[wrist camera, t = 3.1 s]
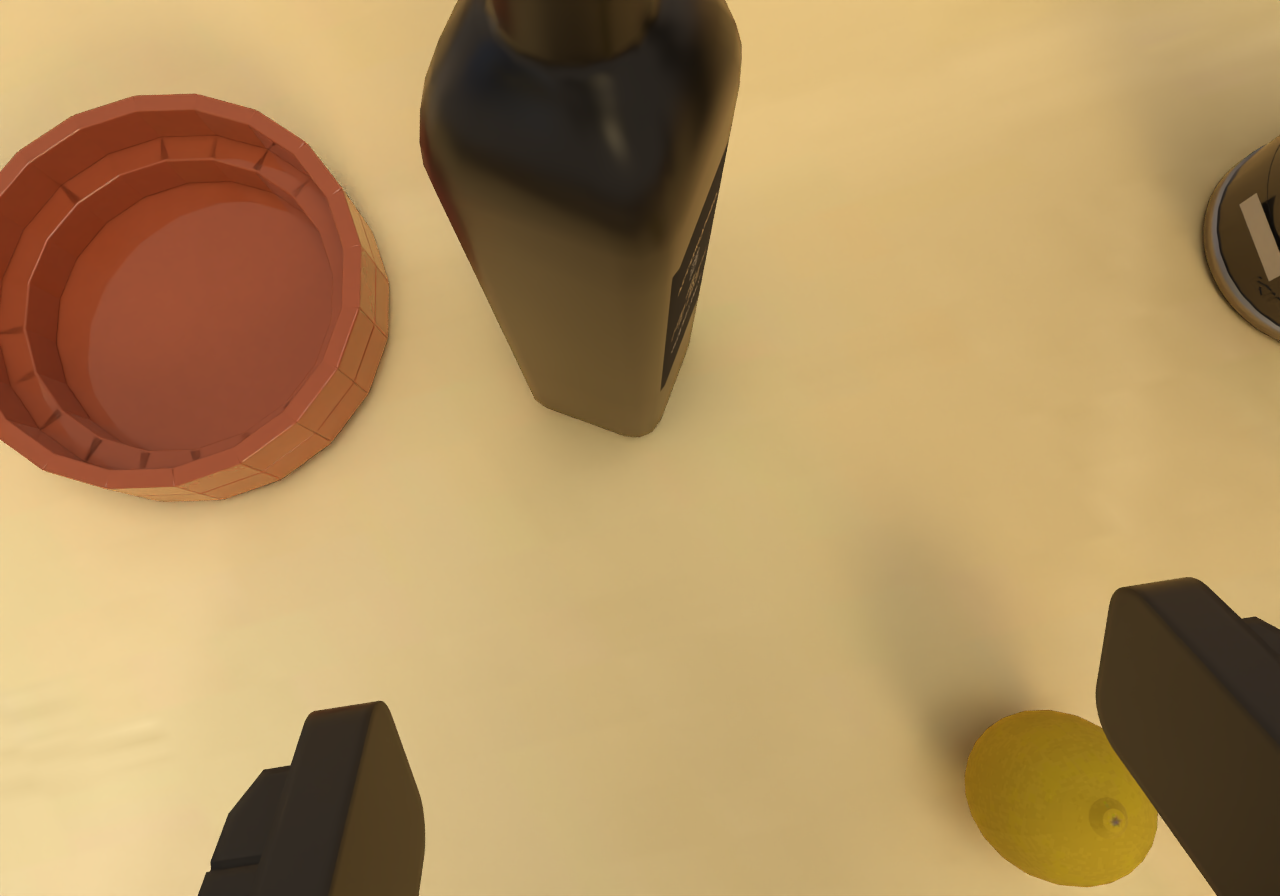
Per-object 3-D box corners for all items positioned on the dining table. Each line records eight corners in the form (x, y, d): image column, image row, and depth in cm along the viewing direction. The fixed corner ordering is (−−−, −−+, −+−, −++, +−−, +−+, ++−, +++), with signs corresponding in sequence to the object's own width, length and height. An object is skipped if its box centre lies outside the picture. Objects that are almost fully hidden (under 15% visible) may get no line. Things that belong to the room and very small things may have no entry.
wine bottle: (697, 323, 38) (904, -670, 9) (651, 447, 37) (705, -189, 8) (571, 278, 38) (355, -825, 9) (522, 401, 37) (97, -384, 8)
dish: (183, 89, 40) (126, 24, 36) (465, 274, 38) (442, 230, 34) (-52, 368, 38) (-143, 336, 33) (238, 577, 36) (183, 572, 32)
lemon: (960, 866, 34) (1057, 941, 26) (918, 718, 35) (999, 750, 27) (1098, 829, 35) (1234, 894, 27) (1053, 684, 36) (1171, 705, 28)
